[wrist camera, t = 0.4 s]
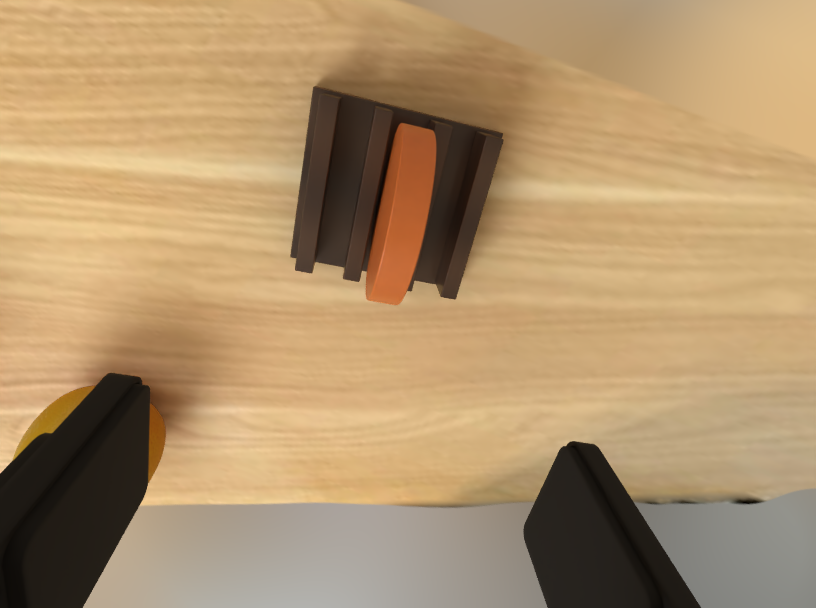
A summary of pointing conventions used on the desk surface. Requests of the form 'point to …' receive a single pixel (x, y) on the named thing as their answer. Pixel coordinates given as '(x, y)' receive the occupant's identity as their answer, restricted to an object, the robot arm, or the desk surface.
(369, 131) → the rack
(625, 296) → the desk surface
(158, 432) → the fruit
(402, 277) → the disc
